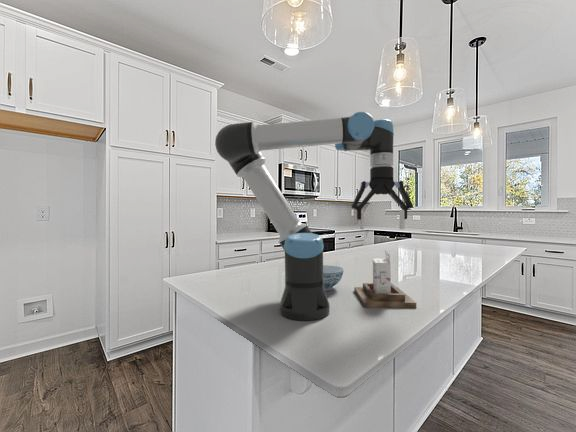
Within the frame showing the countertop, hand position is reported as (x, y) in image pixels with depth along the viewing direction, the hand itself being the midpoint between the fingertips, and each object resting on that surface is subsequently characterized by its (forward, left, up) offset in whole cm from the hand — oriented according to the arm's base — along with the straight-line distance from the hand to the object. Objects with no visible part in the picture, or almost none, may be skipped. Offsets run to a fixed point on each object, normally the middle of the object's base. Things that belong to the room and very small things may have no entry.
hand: (381, 229), depth 99 cm
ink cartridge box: (0, 0, -23) cm, 23 cm away
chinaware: (-19, +13, -24) cm, 33 cm away
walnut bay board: (0, 0, -24) cm, 24 cm away
